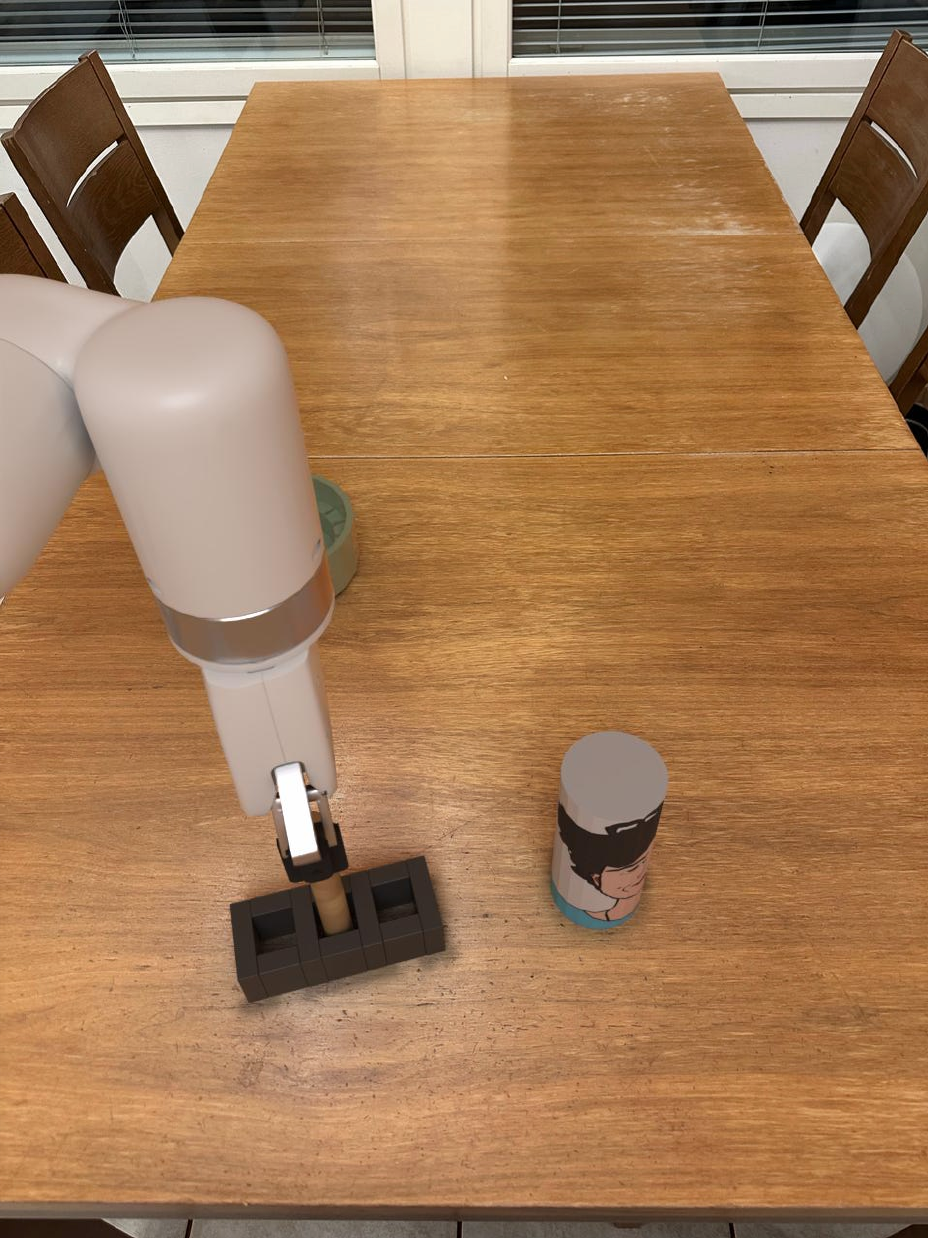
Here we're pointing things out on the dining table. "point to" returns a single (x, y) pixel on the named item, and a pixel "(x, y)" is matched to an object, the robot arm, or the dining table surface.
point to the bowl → (337, 531)
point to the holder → (341, 951)
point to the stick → (331, 901)
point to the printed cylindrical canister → (605, 827)
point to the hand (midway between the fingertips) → (306, 797)
